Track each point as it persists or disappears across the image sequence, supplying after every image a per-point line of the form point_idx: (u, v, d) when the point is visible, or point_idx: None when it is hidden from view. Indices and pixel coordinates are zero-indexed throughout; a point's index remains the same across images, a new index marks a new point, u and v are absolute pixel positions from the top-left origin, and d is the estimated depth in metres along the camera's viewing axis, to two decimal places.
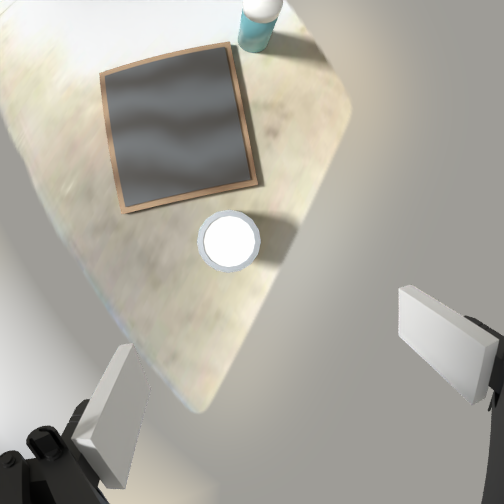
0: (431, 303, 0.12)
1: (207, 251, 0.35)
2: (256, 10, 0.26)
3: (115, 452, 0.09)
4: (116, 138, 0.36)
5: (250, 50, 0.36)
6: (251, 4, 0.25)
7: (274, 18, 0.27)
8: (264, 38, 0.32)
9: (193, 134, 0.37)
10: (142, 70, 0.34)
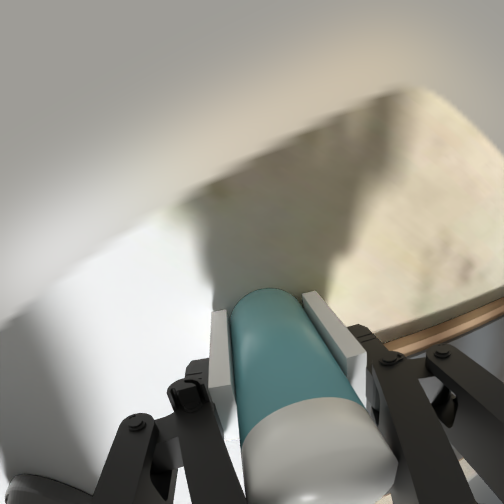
0: (321, 310, 0.14)
1: None
2: (370, 499, 0.06)
3: None
4: None
5: None
6: None
7: (370, 418, 0.07)
8: None
9: None
10: None
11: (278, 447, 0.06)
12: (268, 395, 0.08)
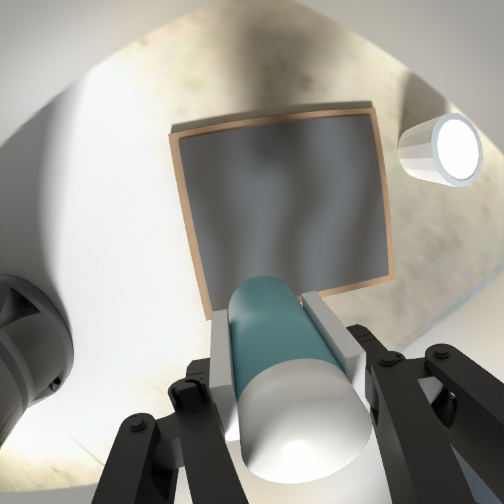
0: (321, 310, 0.14)
1: (466, 176, 0.24)
2: (349, 453, 0.08)
3: None
4: (307, 288, 0.30)
5: None
6: (324, 467, 0.08)
7: (346, 378, 0.09)
8: None
9: (313, 183, 0.28)
10: (210, 258, 0.29)
11: (266, 396, 0.08)
12: (260, 358, 0.10)
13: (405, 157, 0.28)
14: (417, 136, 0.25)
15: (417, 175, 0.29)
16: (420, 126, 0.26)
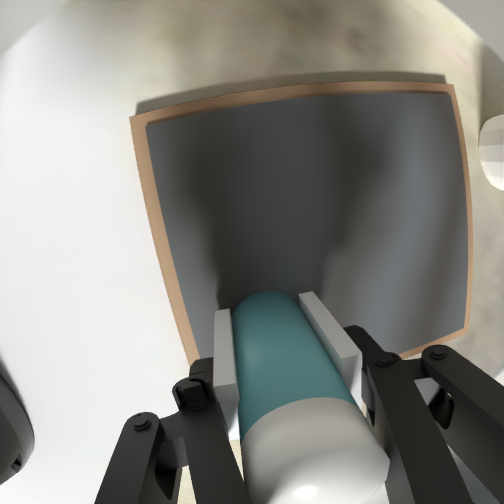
0: (318, 310, 0.14)
1: None
2: (365, 493, 0.07)
3: None
4: None
5: None
6: None
7: (362, 416, 0.08)
8: None
9: (376, 198, 0.16)
10: (207, 326, 0.17)
11: (273, 445, 0.07)
12: (264, 396, 0.09)
13: (493, 160, 0.16)
14: None
15: None
16: None
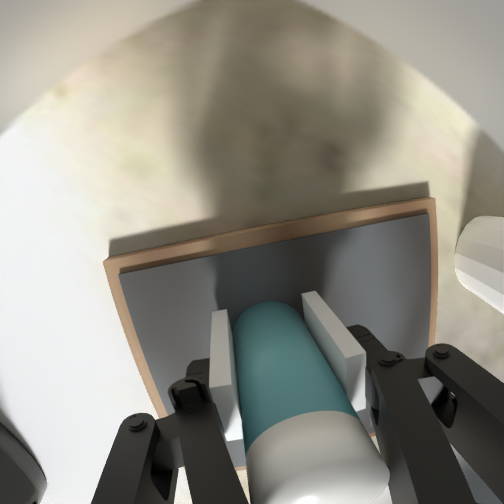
0: (321, 310, 0.14)
1: None
2: (368, 498, 0.07)
3: (239, 401, 0.11)
4: None
5: None
6: None
7: (359, 426, 0.08)
8: None
9: None
10: None
11: (271, 461, 0.07)
12: (263, 413, 0.09)
13: (466, 272, 0.18)
14: (493, 253, 0.15)
15: (477, 295, 0.18)
16: (498, 233, 0.15)
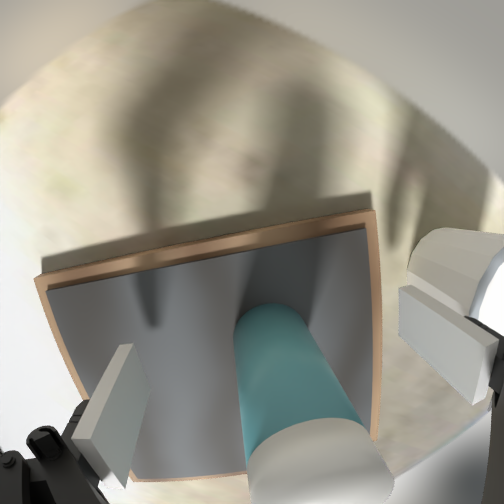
0: (431, 303, 0.12)
1: None
2: None
3: (115, 452, 0.09)
4: None
5: None
6: None
7: (363, 433, 0.08)
8: (324, 357, 0.13)
9: None
10: None
11: (273, 471, 0.07)
12: (265, 420, 0.09)
13: None
14: (444, 274, 0.14)
15: None
16: (452, 251, 0.15)
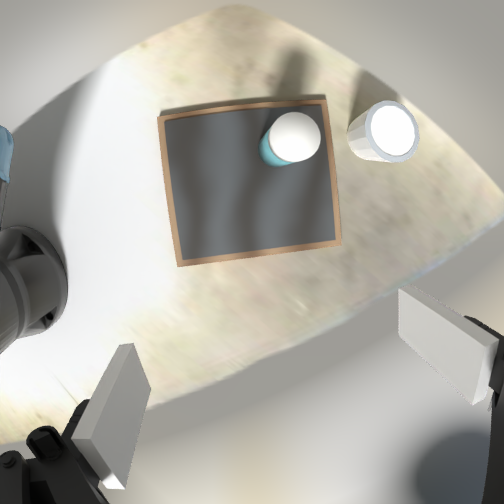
0: (431, 303, 0.12)
1: (400, 153, 0.30)
2: (314, 144, 0.24)
3: (115, 452, 0.09)
4: (261, 245, 0.37)
5: None
6: (305, 151, 0.24)
7: None
8: None
9: None
10: (183, 214, 0.36)
11: None
12: None
13: (351, 140, 0.35)
14: (358, 121, 0.32)
15: (362, 155, 0.35)
16: (363, 113, 0.32)
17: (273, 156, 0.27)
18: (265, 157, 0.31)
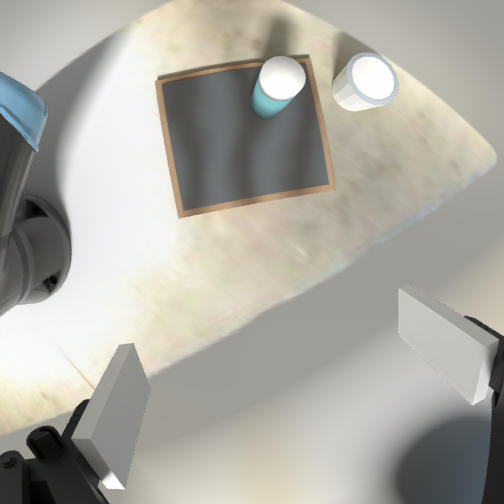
0: (431, 303, 0.12)
1: (382, 97, 0.31)
2: (300, 82, 0.25)
3: (115, 452, 0.09)
4: (258, 191, 0.38)
5: None
6: (292, 87, 0.25)
7: None
8: None
9: None
10: (182, 166, 0.37)
11: None
12: None
13: (336, 92, 0.36)
14: (340, 73, 0.33)
15: (347, 105, 0.36)
16: None
17: (264, 98, 0.28)
18: (257, 105, 0.32)
